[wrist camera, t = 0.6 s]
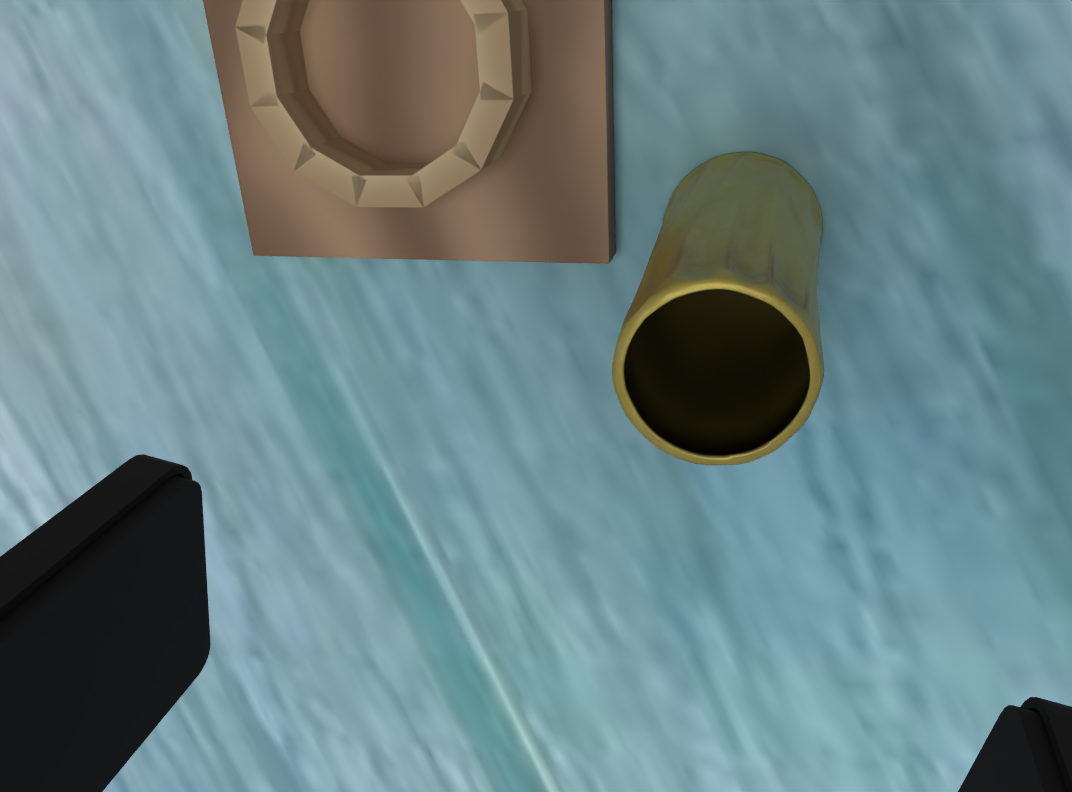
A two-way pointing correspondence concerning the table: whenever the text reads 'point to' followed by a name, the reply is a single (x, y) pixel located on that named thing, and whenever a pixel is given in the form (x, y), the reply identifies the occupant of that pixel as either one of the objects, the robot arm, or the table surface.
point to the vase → (726, 315)
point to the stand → (421, 127)
